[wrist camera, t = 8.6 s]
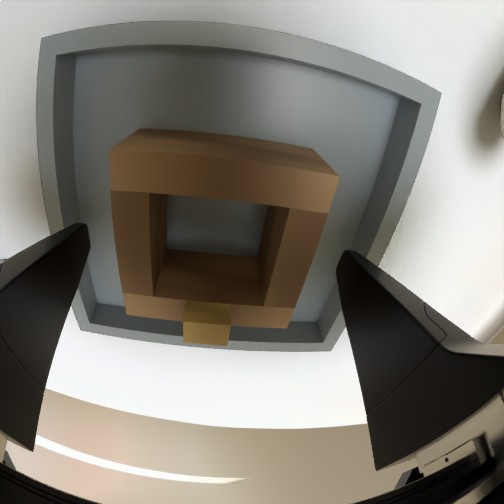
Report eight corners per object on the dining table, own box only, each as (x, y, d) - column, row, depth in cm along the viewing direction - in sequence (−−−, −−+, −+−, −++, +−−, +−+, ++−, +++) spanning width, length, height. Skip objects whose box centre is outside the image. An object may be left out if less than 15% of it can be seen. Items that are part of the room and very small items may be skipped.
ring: (142, 267, 13) (120, 334, 9) (140, 128, 9) (93, 161, 6) (277, 279, 14) (290, 348, 10) (312, 148, 10) (352, 190, 7)
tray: (69, 39, 7) (41, 38, 5) (413, 86, 9) (441, 92, 7) (91, 304, 15) (80, 330, 13) (322, 325, 17) (330, 350, 15)
